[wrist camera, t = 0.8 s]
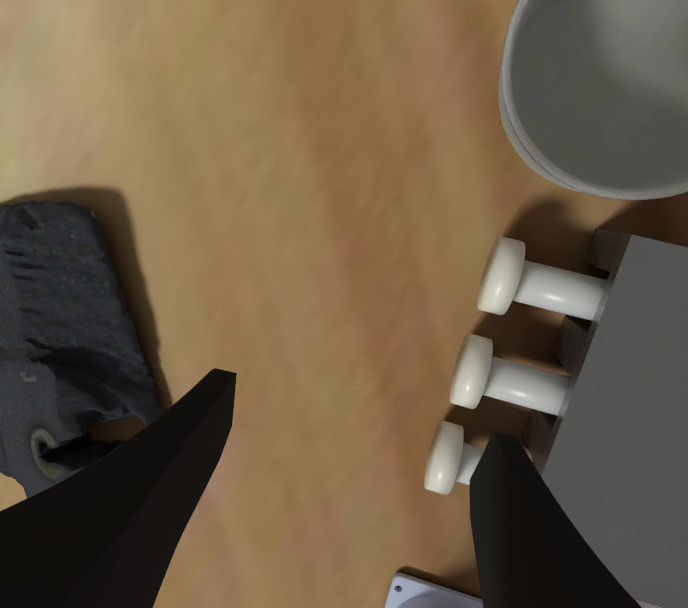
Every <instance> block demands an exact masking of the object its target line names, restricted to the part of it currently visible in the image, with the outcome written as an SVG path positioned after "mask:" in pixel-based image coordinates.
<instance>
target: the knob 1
mask: <svg viewBox="0 0 688 608" xmlns="http://www.w3.org/2000/svg"><path fill="white" fill-rule="evenodd" d="M463 438H464V431H463V427H462V426H461V425H457V424H454V423H450V422H447V421H443V420H440V422H439V423H438V426H437V428H436V431H435V434H434V437H433V440H432V444H431V447H430V452H429V456H428V461H427V466H426V472H425V483H424V484H425V489H428V490H431V491H434V492H437V493H441V494H444V495H448V494H449V493H450V491H451V489H452V487H453V484H454V482H455V481H458V482H461V483H464V484H467V485H470V478H471V476H472V474H473V472H474V470H475V468H476V466H477V464H478V462H479V460H480V458H481V456H482V454H483V452H484V450H485V449H484V448H480V447H477V446H473V445H470V444H467V443H463ZM533 465H534V466H535V463H533ZM535 468H536V466H535ZM536 469H537V468H536Z"/></svg>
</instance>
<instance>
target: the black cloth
mask: <svg viewBox="0 0 688 608" xmlns="http://www.w3.org/2000/svg"><path fill="white" fill-rule="evenodd" d="M151 377H152V374H151V371H150V368H149V366H148V365H147V363H146V361H145V357H144V354H143V353H142V352H141V349H140V346H139V343H138V340H137V335H136V331H135V325H134V322H133V320H132V319H131V317H130V312H129V310H128V308H127V301H126V299H125V297H124V295H123V293H122V291H121V286H120V284H119V281H118V276H117V272H116V270H115V268H114V267H113V264H112V262H111V260H110V257H109V251H108V247H107V243H106V239H105V236H104V233H103V231H102V229H101V227H100V225H99V223H98V220H97V218H96V216H95V215H94V214H93V212H92V211H91V210H90V209H89V208H86V207H83V206H80V205H77V204H74V203H69V202H59V203H54V202H44V203H40V202H35V201H30V202H23V203H21V204H16V205H11V206H10V205H0V472H1V473H2V474H4V475H5V476H8V477H12V478H14V479H16V481H17V482H18V483H20V485H21V486H23V488H24V490H25V493H26V496H27V498H29V497H31V496H33V495H35V494H37V493H39V492H41V491H44V490H46V489H48V488H50V487H52V486H53V485H55V484H57V483H59V482H61V481H63V480H65V479H66V478H68V477H70V476H72V475H73V474H75V473H77V472H79V471H80V470H82V469H84V468H85V467H87V466H89V465H91V464H92V463H94V462H96V461H97V460H99V459H100V458H102V457H103V456H105V455H107V454H108V453H110V452H111V451H113V450H114V449H116V448H117V447H119V446H120V445H122V444H123V443H124V442H122V441H114V442H112V443H111V444H110V445H108V443H106V442H102V441H91V440H90V439H89V438H88V437H87V436H88V435H89V433H88V429H89V426H90V424H91V423H92V422H93V421H94V420H97V421H98V422H101V423H106V422H109V421H112V420H119V419H122V418H125V417H127V416H131V415H135V416H136V417H137V418H139V419H141V421H142V422H144V423H145V424H146V425H147V426H148V425H149V424H150V423H152V422H153V421H154V420H156V419H157V418H158V417H159V416H161V415H162V408H161V404H160V400H159V398H158V397H157V395H156V386H155V384H154V382H153V379H152V378H151Z"/></svg>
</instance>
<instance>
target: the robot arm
mask: <svg viewBox="0 0 688 608" xmlns="http://www.w3.org/2000/svg"><path fill="white" fill-rule="evenodd" d="M236 374H237V373H233V372H229V371H225V370H220V369H216V368H215V369H213V370H211V371H210V372H209V373H208V374H207V375H206V376H205V377H204V378H203V379H202V380H201V381H200V382H199V383H197V384H196V385H195V386H194V387H193V388H192V389H191V390H190V391H189V392H188V393H186V394H185V395H184V396H183V397H182V398H181V399H180V400H179V401H177V402H176V403H175V404H174V405H173V406H171V407H170V408H169V409H168V410H167V411H165V412H164V413H163V414H162V415H161V416H159V417H158V418H157V419H156V420H154V421H153V422H152V423H150V424H149V425H148V426H146V427H145V428H144V429H142V430H141V431H140V432H138V433H137V434H136V435H134V436H133V437H132V438H130V439H129V440H127V441H126V442H125V443H123V444H122V445H120V446H119V447H117V448H116V449H114V450H113V451H111V452H110V453H108V454H107V455H105V456H103V457H102V458H100V459H99V460H97V461H96V462H94V463H92V464H91V465H89V466H87V467H85V468H84V469H82V470H80V471H79V472H77V473H75V474H73V475H72V476H70V477H68V478H66V479H65V480H63V481H61V482H59V483H57V484H55V485H53V486H52V487H50V488H48V489H46V490H44V491H41V492H39V493H37V494H35V495H33V496H31V497H29V498H27V499H25V500H23V501H21V502H19V503H17V504H15V505H13V506H11V507H9V508H6V509H4V510H2V511H0V608H153V605H154V602H155V600H156V597H157V595H158V592H159V589H160V587H161V584H162V582H163V579H164V577H165V574H166V571H167V569H168V566H169V564H170V561H171V559H172V556H173V554H174V551H175V549H176V547H177V544H178V542H179V540H180V538H181V536H182V533H183V531H184V529H185V527H186V525H187V523H188V521H189V519H190V518H191V516H192V514H193V512H194V510H195V508H196V506H197V504H198V502H199V500H200V498H201V496H202V494H203V492H204V490H205V488H206V486H207V484H208V482H209V480H210V478H211V476H212V474H213V472H214V470H215V468H216V466H217V464H218V462H219V460H220V457H221V454H222V452H223V449H224V446H225V444H226V441H227V438H228V435H229V433H230V430H231V427H232V419H233V408H234V397H235V385H236ZM470 518H471V526H472V533H473V540H474V547H475V554H476V561H477V568H478V575H479V581H480V588H481V595H482V599H479V598H476V597H473V596H470V595H467V594H464V593H461V592H458V591H455V590H452V589H449V588H446V587H443V586H440V585H437V584H434V583H431V582H428V581H425V580H421V579H418V578H415V577H412V576H409V575H406V574H403V573H396V574H395V575H394V577H393V580H392V583H391V586H390V590H389V593H388V596H387V599H386V603H385V606H384V608H642V607H641V606H640V605H639V604H638V603H637V602H636V601H635V600H634V599H633V598H632V597H631V596H630V594H629V593H628V592H627V591H626V590H625V589H624V588H623V587H622V585H621V584H620V583H619V582H618V581H617V579H616V578H615V577H614V576H613V575H612V574H611V572H610V571H609V570H608V569H607V568H606V566H605V565H604V564H603V563H602V562H601V560H600V559H599V558H598V557H597V555H596V554H595V553H594V552H593V550H592V549H591V548H590V546H589V545H588V544H587V542H586V541H585V540H584V538H583V537H582V536H581V534H580V533H579V532H578V530H577V529H576V528H575V526H574V525H573V523H572V522H571V521H570V519H569V518H568V516H567V515H566V514H565V512H564V511H563V509H562V508H561V506H560V505H559V503H558V502H557V500H556V499H555V497H554V496H553V494H552V493H551V491H550V490H549V488H548V487H547V485H546V484H545V482H544V480H543V479H542V477H541V476H540V474H539V473H538V471H537V469H536V468H535V466H534V465H533V463H532V461H531V460H530V458H529V457H528V455H527V453H526V452H525V450H524V448H523V447H522V445H521V444H520V442H519V441H518V439H517V437H516V436H512V435H508V434H503V433H499V432H493V434H492V436H491V438H490V440H489V442H488V444H487V446H486V448H485V450H484V452H483V454H482V456H481V458H480V460H479V462H478V464H477V466H476V468H475V470H474V472H473V474H472V476H471V478H470ZM396 586H401V587H400V588H398V587H396Z"/></svg>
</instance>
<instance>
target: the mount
mask: <svg viewBox="0 0 688 608" xmlns="http://www.w3.org/2000/svg"><path fill="white" fill-rule="evenodd" d="M584 262H585V263H588V264H590V265H593V266H595V267H598V268H601V269H603V270H606V271H608V272H610V275H609V278H608V280H607V283H606V286H605V288H604V291H603V294H602V297H601V299H600V302H599V305H598V307H597V310H596V313H595V315H594V318H593V321H592V322H588V321H584V320H580V319H576V318H572V317H569V316H565V317H564V320H563V323H562V325H561V328H560V331H559V334H558V337H557V340H556V342H555V345H554V348H553V351H552V353H553V354H554V355H555V357H556V358H557V359H558V360H559V362H560V363H561V364H562V365H563V366H564V368H565V369H566V370H567V371H568V373H569V374H570V375H571V376H572V378H571V380H570V383H569V386H568V389H567V391H566V394H565V397H564V399H563V402H562V405H561V407H560V410H559V413H558V416H557V415H553V414H549V413H546V412H542V411H539V410H535V409H532V410H531V413H530V416H529V419H528V422H527V424H526V427H525V430H524V433H523V436H524V438H525V441H526V443H527V446H528V448H529V451H530V453H531V456H532V458H533V461H534V463H535V466H536V468H537V471H538V473H539V474H540V476H541V477H542V479H543V480H544V482H545V484H546V485H547V487H548V488H549V490H550V491H551V493H552V494H553V496H554V497H555V499H556V500H557V502H558V503H559V505H560V506H561V508H562V509H563V511H564V512H565V514H566V515H567V516H568V518H569V519H570V521H571V522H572V523H573V525H574V526H575V528H576V529H577V530H578V532H579V533H580V534H581V536H582V537H583V538H584V540H585V541H586V542H587V544H588V545H589V546H590V548H591V549H592V550H593V552H594V553H595V554H596V555H597V557H598V558H599V559H600V560H601V562H602V563H603V564H604V565H605V566H606V568H607V569H608V570H609V571H610V572H611V574H612V575H613V576H614V577H615V578H616V579H617V581H618V582H619V583H620V584H621V585H622V587H623V588H624V589H625V590H626V591H627V592H628V593H629V594H630V596H631V597H632V598H634V599H637V600H641V601H644V602H647V603H650V604H653V605H656V606H659V607H663V608H688V247H684V246H679V245H675V244H671V243H666V242H662V241H658V240H653V239H649V238H645V237H640V236H636V235H632V234H626V233H619V232H613V231H607V230H600V229H595V232H594V235H593V238H592V241H591V244H590V246H589V249H588V252H587V255H586V258H585V260H584Z"/></svg>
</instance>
